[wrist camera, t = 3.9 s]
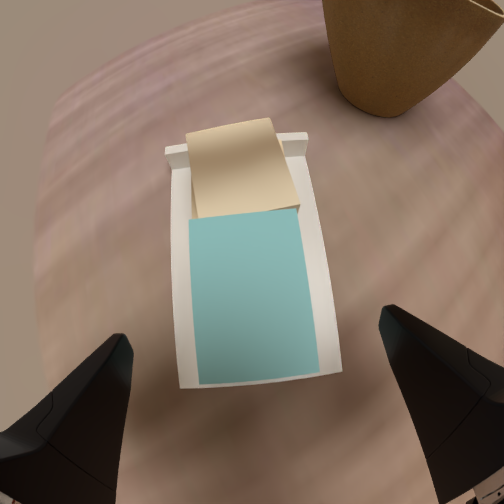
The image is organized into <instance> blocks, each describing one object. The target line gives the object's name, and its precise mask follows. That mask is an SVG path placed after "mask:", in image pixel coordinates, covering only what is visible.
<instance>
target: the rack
mask: <svg viewBox="0 0 504 504" xmlns="http://www.w3.org/2000/svg"><path fill="white" fill-rule="evenodd" d="M276 136H277V138H278V140H281V141H282V145H283V150H284V155H285V160H286V163H287V166H288V169H289V172H290V174H291V177H292V180H293V183H294V186H295V189H296V192H297V195H298V198H299V201H300V208H299V211H298V221H299V227H300V232H301V238H302V244H303V250H304V257H305V263H306V269H307V276H308V283H309V289H310V296H311V304H312V311H313V318H314V326H315V334H316V342H317V351H318V360H319V369H320V372H317V373H311V374H305V375H298V376H291V377H284V378H276V379H267V380H258V381H247V382H235V383H221V384H200V385H199V377H198V368H197V358H196V347H195V336H194V323H193V309H192V294H191V276H190V254H189V220H190V219H192V207H191V169H190V162H189V155H188V148H187V143H186V144H180V145H174V146H168V147H165V156H166V158H167V160H168V162H169V165H170V167H171V169H172V183H171V273H172V298H173V316H174V331H175V344H176V355H177V366H178V376H179V385H180V389H187V388H214V387H231V386H244V385H255V384H264V383H273V382H281V381H289V380H296V379H303V378H309V377H315V376H321V375H327V374H332V373H338V372H342V363H341V354H340V345H339V337H338V329H337V322H336V314H335V307H334V301H333V294H332V288H331V281H330V275H329V269H328V264H327V258H326V252H325V247H324V242H323V236H322V231H321V226H320V221H319V216H318V211H317V207H316V202H315V197H314V193H313V188H312V184H311V179H310V175H309V171H308V167H307V162H306V158H305V154H306V149H307V145H308V140H309V139H308V135H307V132H299V133H279V134H276Z"/></svg>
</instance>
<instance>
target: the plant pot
mask: <svg viewBox="0 0 504 504" xmlns="http://www.w3.org/2000/svg"><path fill="white" fill-rule="evenodd" d="M322 3H323V11H324V18H325V24H326V30H327V36H328V41H329V46H330V52H331V57H332V61H333V66H334V70H335V74H336V79H337V83H338V86H339V89H340V91H341V93H342V94H343V96H344V97H345V98H346V99H347V100H348V101H349V102H350V103H352V104H353V105H354V106H356V107H358V108H359V109H361V110H363V111H365V112H367V113H370V114H373V115H376V116H381V117H395V116H398V115H400V114H402V113H404V112H405V111H407V110H408V109H410V108H411V107H413V106H414V105H416V104H417V103H419V102H420V101H422V100H423V99H425V98H426V97H427V96H429V95H430V94H432V93H433V92H434V91H435V90H437V89H438V88H439V87H440V86H442V85H443V84H444V83H445V82H447V81H448V80H449V79H450V78H451V77H453V76H454V75H455V74H456V73H457V72H458V71H459V70H460V69H461V68H462V67H463V66H465V65H466V63H468V62H469V61H470V60H471V59H472V58H473V57H474V56H475V55H476V54H477V53H478V51H479V50H480V49H481V48H482V47H483V46H484V45H485V44H486V42H487V41H488V40H489V39H490V38H491V37H492V36H493V34H494V33H495V32H496V31H497V30H498V29H499V28H500V26H501V25H502V24H503V23H504V10H503V9H502V8H501V7H500V6H499V5H497V4H496V3H495V2H494V1H493V0H322Z"/></svg>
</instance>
